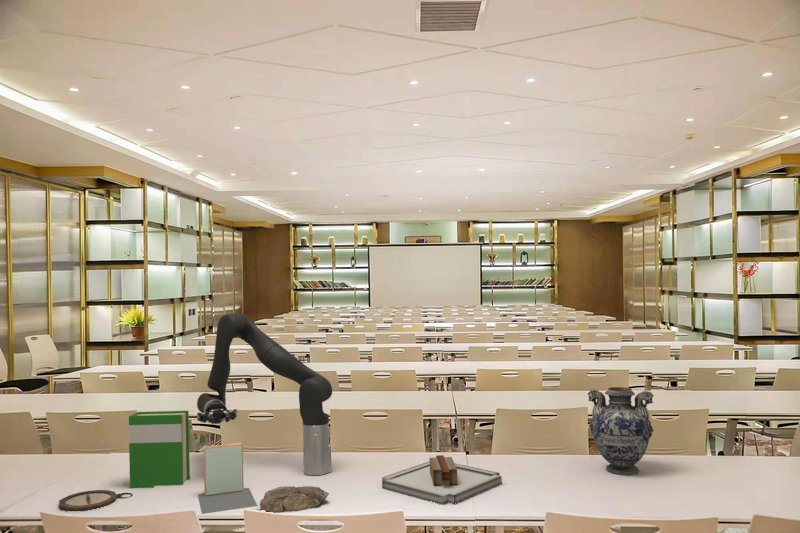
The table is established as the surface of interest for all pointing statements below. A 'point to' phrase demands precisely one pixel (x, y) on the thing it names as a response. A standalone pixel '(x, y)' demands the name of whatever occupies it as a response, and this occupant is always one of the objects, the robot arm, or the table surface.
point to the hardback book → (159, 448)
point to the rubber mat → (226, 501)
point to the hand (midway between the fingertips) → (220, 419)
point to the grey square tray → (441, 481)
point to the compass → (89, 500)
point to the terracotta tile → (223, 469)
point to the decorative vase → (621, 428)
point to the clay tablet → (292, 498)
